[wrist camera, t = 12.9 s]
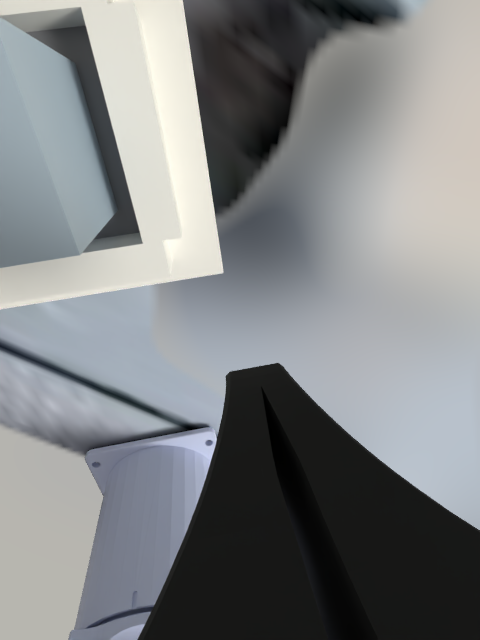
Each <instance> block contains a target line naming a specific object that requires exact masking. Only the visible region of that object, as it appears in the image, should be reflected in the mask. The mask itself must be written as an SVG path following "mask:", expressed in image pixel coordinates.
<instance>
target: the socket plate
mask: <svg viewBox="0 0 480 640" xmlns="http://www.w3.org/2000/svg"><path fill="white" fill-rule="evenodd" d="M0 17H1V18H3V19H4V20H6V21H7V22H9V23H11V24H12V25H14V26H16V27H17V28H19V29H20V30H22V31H24V32H25V33H27V34H29V35H30V36H32V37H33V38H35V39H37V40H38V41H40V42H42V43H43V44H45V45H47V46H48V47H50V48H51V49H53V50H55V51H56V52H58V53H60V54H61V55H63V56H64V57H66V58H68V59H69V60H71V61H73V62H74V63H75V64H76V68H77V71H78V75H79V78H80V82H81V85H82V89H83V92H84V95H85V99H86V102H87V106H88V109H89V113H90V116H91V120H92V123H93V126H94V130H95V133H96V137H97V140H98V144H99V147H100V151H101V154H102V157H103V161H104V164H105V168H106V171H107V175H108V178H109V182H110V185H111V188H112V192H113V195H114V199H115V202H116V206H117V209H118V211H117V212H116V213H115V214H114V215H113V216H112V218H111V219H110V220H109V221H108V222H107V224H106V225H105V226H104V227H103V228H102V230H101V231H100V232H99V233H98V234H97V236H96V237H95V238H94V239H93V240H92V242H91V243H90V244H89V245H88V246H87V248H86V249H85V250H84V251H83V252H82V253H81V255H78V256H72V257H66V258H60V259H53V260H47V261H41V262H35V263H28V264H22V265H16V266H10V267H4V268H0V309H5V308H11V307H18V306H24V305H30V304H36V303H42V302H48V301H54V300H61V299H67V298H73V297H79V296H85V295H91V294H97V293H104V292H110V291H116V290H122V289H128V288H134V287H140V286H147V285H153V284H159V283H165V282H171V281H177V280H183V279H189V278H196V277H201V276H208V275H214V274H220V273H223V266H222V259H221V253H220V246H219V239H218V233H217V226H216V220H215V213H214V206H213V200H212V193H211V186H210V180H209V173H208V166H207V160H206V153H205V146H204V140H203V133H202V126H201V120H200V113H199V106H198V100H197V93H196V86H195V80H194V73H193V67H192V60H191V53H190V47H189V40H188V33H187V27H186V20H185V13H184V7H183V0H0Z"/></svg>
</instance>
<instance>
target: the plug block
mask: <svg viewBox="0 0 480 640" xmlns="http://www.w3.org/2000/svg"><path fill="white" fill-rule="evenodd" d="M117 211H118V209H117V206H116V202H115V199H114V195H113V192H112V188H111V185H110V182H109V178H108V175H107V171H106V168H105V164H104V161H103V157H102V154H101V151H100V147H99V144H98V140H97V137H96V133H95V130H94V126H93V123H92V120H91V116H90V113H89V109H88V106H87V102H86V99H85V95H84V92H83V89H82V85H81V82H80V78H79V75H78V71H77V68H76V64H75V63H74V62H73V61H71V60H69V59H68V58H66V57H64V56H63V55H61V54H60V53H58V52H56V51H55V50H53V49H51V48H50V47H48V46H47V45H45V44H43V43H42V42H40V41H38V40H37V39H35V38H33V37H32V36H30V35H29V34H27V33H25V32H24V31H22V30H20V29H19V28H17V27H16V26H14V25H12V24H11V23H9V22H7V21H6V20H4V19H3V18H1V17H0V268H4V267H10V266H16V265H22V264H28V263H35V262H41V261H47V260H53V259H60V258H66V257H72V256H78V255H81V253H82V252H83V251H84V250H85V249H86V248H87V246H88V245H89V244H90V243H91V242H92V240H93V239H94V238H95V237H96V236H97V234H98V233H99V232H100V231H101V230H102V228H103V227H104V226H105V225H106V224H107V222H108V221H109V220H110V219H111V218H112V216H113V215H114V214H115V213H116V212H117Z"/></svg>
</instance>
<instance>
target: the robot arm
mask: <svg viewBox="0 0 480 640" xmlns="http://www.w3.org/2000/svg"><path fill="white" fill-rule="evenodd" d="M207 440H210V441H207ZM85 461H86V463H87V465H88V467H89V469H90V470H91V473H92V475H93V477H94V478H95V480H96V482H97V484H98V486H99V488H100V490H101V492H102V494H103V496H104V497H103V502H102V506H101V511H100V515H99V520H98V525H97V529H96V533H95V538H94V542H93V547H92V552H91V556H90V560H89V566H88V569H87V574H86V579H85V583H84V588H83V592H82V597H81V601H80V606H79V610H78V615H77V619H76V624H75V628H74V630H72V631H71V632H70V635H69V639H68V640H480V530H478V529H477V528H475V527H473V526H472V525H470V524H469V523H467V522H466V521H464V520H462V519H461V518H459V517H458V516H456V515H455V514H453V513H451V512H450V511H449V510H447V509H446V508H444V507H443V506H441V505H440V504H438V503H437V502H436V501H434V500H433V499H431V498H430V497H429V496H427V495H426V494H424V493H423V492H421V491H420V490H419V489H417V488H416V487H414V486H413V485H412V484H410V483H409V482H408V481H407V480H405V479H404V478H402V477H401V476H400V475H398V474H397V473H396V472H394V471H393V470H392V469H391V468H389V467H388V466H387V465H385V464H384V463H383V462H382V461H380V460H379V459H378V458H377V457H375V456H374V455H373V454H372V453H371V452H369V451H368V450H367V449H366V448H365V447H363V446H362V445H361V444H360V443H359V442H358V441H356V440H355V439H354V438H353V437H352V436H351V435H349V434H348V433H347V432H346V431H345V430H344V429H343V428H342V427H341V426H339V425H338V424H337V423H336V422H335V421H334V420H333V419H332V418H331V417H330V416H329V415H328V414H327V413H326V412H325V411H324V410H323V409H322V408H321V407H320V406H318V405H317V404H316V402H314V400H312V398H310V396H309V395H308V394H307V393H306V392H305V391H304V390H303V389H302V388H301V387H300V386H299V385H298V384H297V382H296V381H295V380H294V379H293V378H292V377H291V376H290V375H289V373H288V372H287V371H286V370H285V369H284V367H283V366H282V365H280V364H279V363H275V364H270V365H264V366H259V367H253V368H248V369H242V370H237V371H232V372H229V373H228V374H227V375H226V395H225V403H224V409H223V415H222V419H221V424H220V428H219V433H218V437H217V438H216V433H215V430H214V429H212V428H210V427H206V428H201V429H196V430H190V431H185V432H180V433H175V434H169V435H164V436H159V437H154V438H149V439H143V440H138V441H133V442H128V443H122V444H117V445H112V446H107V447H102V448H96V449H92V450H89V451H88V452H87V453H86V456H85Z"/></svg>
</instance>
